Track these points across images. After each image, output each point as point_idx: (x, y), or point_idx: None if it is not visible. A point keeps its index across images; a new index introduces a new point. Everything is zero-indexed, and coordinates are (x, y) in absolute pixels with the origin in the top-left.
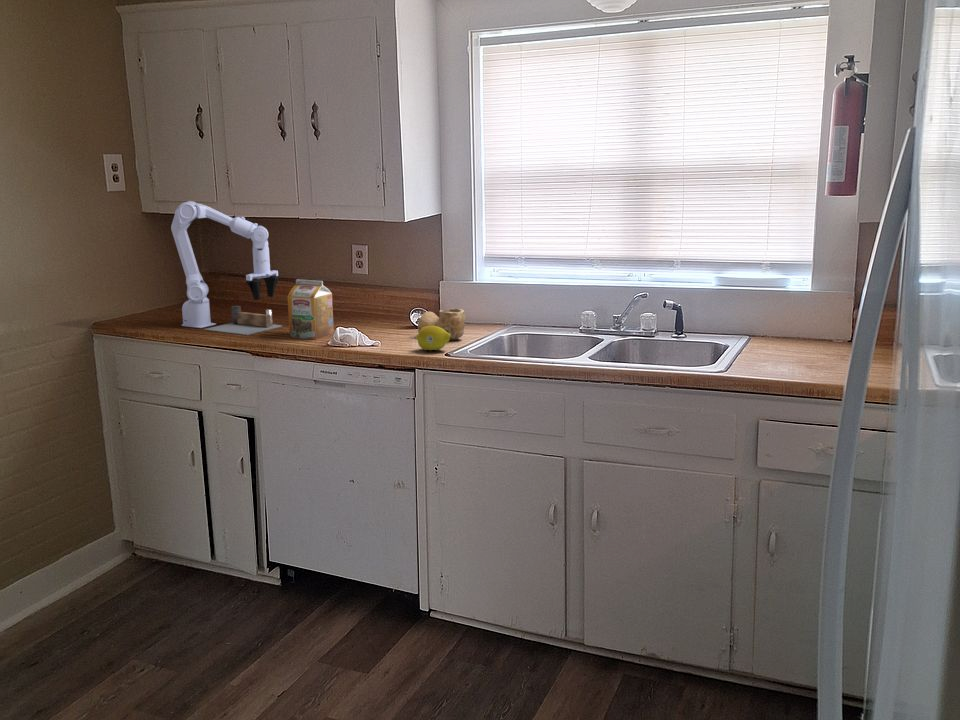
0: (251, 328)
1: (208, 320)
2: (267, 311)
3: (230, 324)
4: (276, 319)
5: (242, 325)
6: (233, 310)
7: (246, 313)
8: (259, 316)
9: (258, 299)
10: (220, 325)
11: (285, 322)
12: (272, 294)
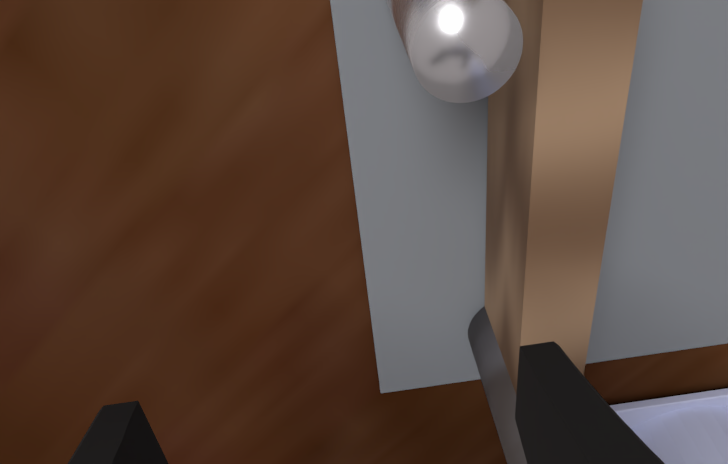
0: (683, 7)
1: (696, 440)
2: (514, 24)
3: None
4: (58, 246)
5: None
6: None
7: (582, 286)
8: (625, 41)
9: (552, 345)
10: (640, 353)
11: (74, 11)
12: (123, 438)
